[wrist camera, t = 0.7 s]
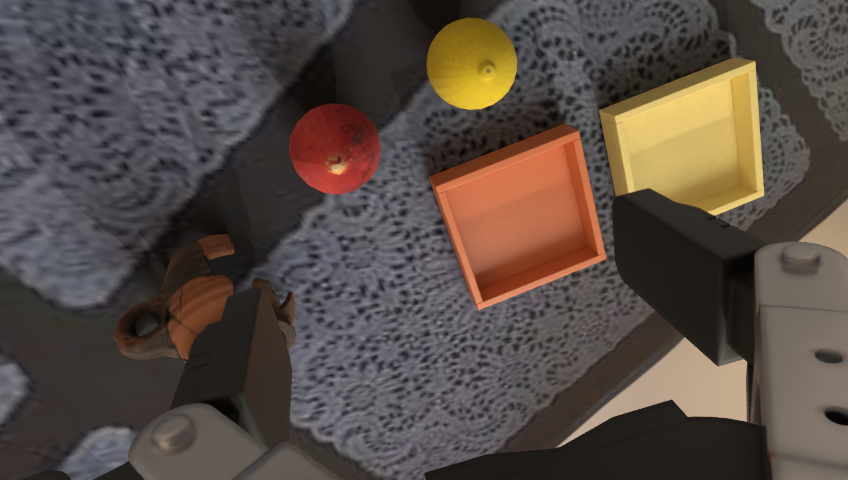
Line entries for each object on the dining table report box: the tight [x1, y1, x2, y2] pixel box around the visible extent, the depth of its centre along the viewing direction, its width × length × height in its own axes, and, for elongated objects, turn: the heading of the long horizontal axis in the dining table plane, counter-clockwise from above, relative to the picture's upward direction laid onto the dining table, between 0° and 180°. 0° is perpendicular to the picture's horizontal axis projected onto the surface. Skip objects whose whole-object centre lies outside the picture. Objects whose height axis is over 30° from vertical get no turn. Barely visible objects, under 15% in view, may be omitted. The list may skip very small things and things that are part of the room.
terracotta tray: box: [429, 124, 606, 310], centre depth 44 cm, size 11×11×2 cm
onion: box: [289, 103, 381, 194], centre depth 36 cm, size 6×6×8 cm
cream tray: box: [599, 58, 764, 215], centre depth 44 cm, size 11×11×2 cm
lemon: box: [426, 18, 517, 110], centre depth 35 cm, size 6×6×8 cm
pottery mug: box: [113, 234, 296, 363], centre depth 40 cm, size 12×10×8 cm
